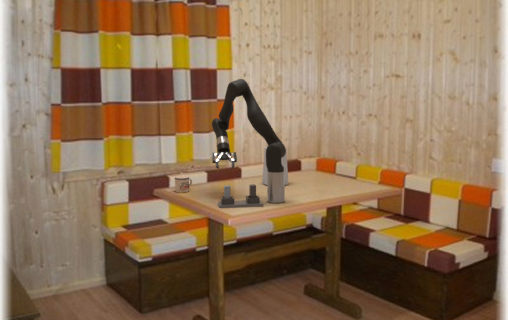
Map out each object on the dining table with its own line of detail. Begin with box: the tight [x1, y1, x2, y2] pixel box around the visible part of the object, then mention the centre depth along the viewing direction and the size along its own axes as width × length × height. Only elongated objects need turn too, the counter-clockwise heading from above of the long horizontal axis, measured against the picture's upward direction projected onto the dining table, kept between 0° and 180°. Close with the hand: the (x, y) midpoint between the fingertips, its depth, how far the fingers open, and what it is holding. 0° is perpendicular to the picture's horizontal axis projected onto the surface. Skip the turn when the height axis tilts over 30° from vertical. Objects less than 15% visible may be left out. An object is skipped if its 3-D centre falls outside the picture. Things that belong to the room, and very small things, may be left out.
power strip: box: [216, 183, 264, 209], centre depth 295 cm, size 24×10×11 cm, turn 99°
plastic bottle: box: [261, 145, 289, 187], centre depth 354 cm, size 15×15×28 cm
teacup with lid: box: [174, 172, 193, 193], centre depth 334 cm, size 12×9×12 cm
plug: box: [223, 184, 231, 199], centre depth 294 cm, size 3×4×10 cm
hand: (225, 167), depth 310 cm, fingers open, 8 cm apart
